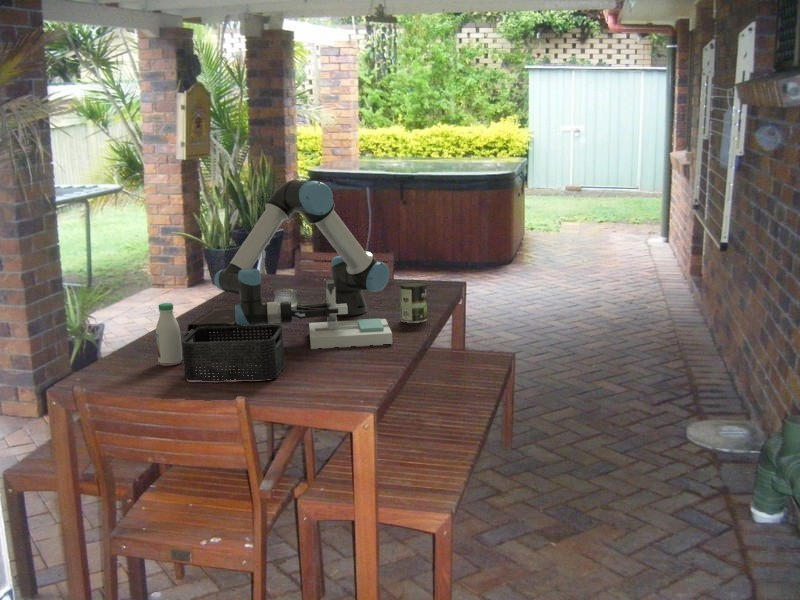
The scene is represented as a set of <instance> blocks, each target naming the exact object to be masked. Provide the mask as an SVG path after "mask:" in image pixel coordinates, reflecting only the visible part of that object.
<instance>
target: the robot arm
mask: <svg viewBox="0 0 800 600" xmlns="http://www.w3.org/2000/svg"><path fill="white" fill-rule="evenodd" d="M333 198H334V194H333V191H332V190H331V188H330V187H329V186H328V185H327V184H326V183H323V182H321V181H317V180H299V179H293V180H292V179H291V180H288V181H286V182H285V183H283V184H281V185H280V186H279V187H278V188H277V189H276V191H274V192H273V194H272V195H271V196H270V197H269V199H268V201H267V202H266V203H265V205H264V206H265V210H264V212H263V213H262V214H261V216H260V217H259V219H258V220H257V222H256V224H255V225H254V227H252V229H251V231H250V232H249V234H248V235H247V237H246V238H245V240H244V241H243V243H242V245H240V247H239V249H237V250H238V251H237V252H236V253H235V255H234V256H233V258H232V259H231V260H230V262H229V263H228V265H227V267H226V268H225V269H220V270H219V271H217V272H216V274H215V276H214V277H213V278H214V279H213V281H214V284H215V286H216V288H217V289H218V290H221V291H224V292H226V293H233V294H236V295H239V301H240V303H237V304H235V306H234V308H235V318H236V323H237V324H238V325H246V326H254V325H275V324H280V322H281V324H287V323H292V322H293V317H294V318H298V319H299V320H302V319H309V318H323V317H326V318H327V317H329V315H336V316H340V317H341V316H342V317H346V316H347V317H351V316H358V315H363V314H366V313H367V312H368V307H367V303H366V299H365V297H364V294H363V291H367V292H370V293H373V292H375V293H378V292H382V291H383V290H384V288H386V287H387V284H388V282H389V279H390V269H389V267H388V265H387V264H386V263H384V262H383V261H378V260H377V259H376V258H375V256H374V255H373V253H372V252H370V251H368V250H367V251H366V250H365V249H364V248H363V247H362V245H361V244H360V243H359V242H358V240H357V239H356V237H355V236H354V235H353V234H352V232H351V231H350V229H349V228H348V227H347V225H346V224H345V223H344V221H343V220H342V219H341V217H340V215H338V214H337V212H336V210H335V206H336V205H335V203H334V199H333ZM295 213H299V214H301V215H302V216H303V217H304V219H305V220H306V221H307V222H308V223H309V224H310V225H311V224H312V225H315V226H316V227H317V228H318V230H319V231H320V232H321V233H322V235H323V236H324V237H325V239H326V240H327V242H329V243H330V245H331V246H332V248H333V249H334V250H335V251H336V253H337V254H338V256H337V255H336V256H334V257H333V258H332V259H331V266H330V268H331V280H334V287H335V294H336V307H329V308H327V301H326V302H325V303H324V302H323V303H299V304H296V305H295V306H292V302H291V301H290V300H287V301H281V302H279V301H267V302H266V301H265V302H263V298H262V295H263V293H262V292H263V291H262V279H261V272H260V270H259V269H258V268H253V267H254V266H255V264H256V263H257V261H258V259H259V258H260V257H261V255H262V253H263V252H264V251H265V249H266V248H267V246H268V244H269V243H270V242H271V240H272V238H273V237H274V236H275V234H276V232H277V231H278V229H279V228H280V226H281V225H282V224H283V222H284V221H288V220H289V218H290V217H291V215H292V214H295Z"/></svg>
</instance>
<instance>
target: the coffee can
mask: <svg viewBox="0 0 800 600" xmlns="http://www.w3.org/2000/svg"><path fill="white" fill-rule="evenodd" d="M399 288H400V289H399V296H400V297H399V299H400V321H401V322H402V323H405V322H407V323H406V324H419V323H420V322H421V323H425V322H427V321H428V303H427V301H428V300H427V299H428V298H427V283H426V282H424V281H405V282H402V283H400V284H399Z"/></svg>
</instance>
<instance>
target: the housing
mask: <svg viewBox="0 0 800 600" xmlns="http://www.w3.org/2000/svg"><path fill="white" fill-rule="evenodd" d="M358 320H359V319H355V320H341V321H340V320H337V330H328V322H327V321H323V322H322V321H321V322H317V321H316V322H308V324H309V325H308V328H309V340H310V342H309V343H310V349H311V350H319V349H318V348H322V349H335V348H334V347H339V348H350V347H351V346H356V347H369V346H370V345H373V346H384V345H383V344H391V345H393V333H392V332H393V331H392V329H391V328H390V326H389V323H388V321H387V319H386V318H380V320H381V323H382V325H383V327H384V331H371V332H361V331H360V328H359V325H358ZM351 348H352V347H351Z"/></svg>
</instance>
